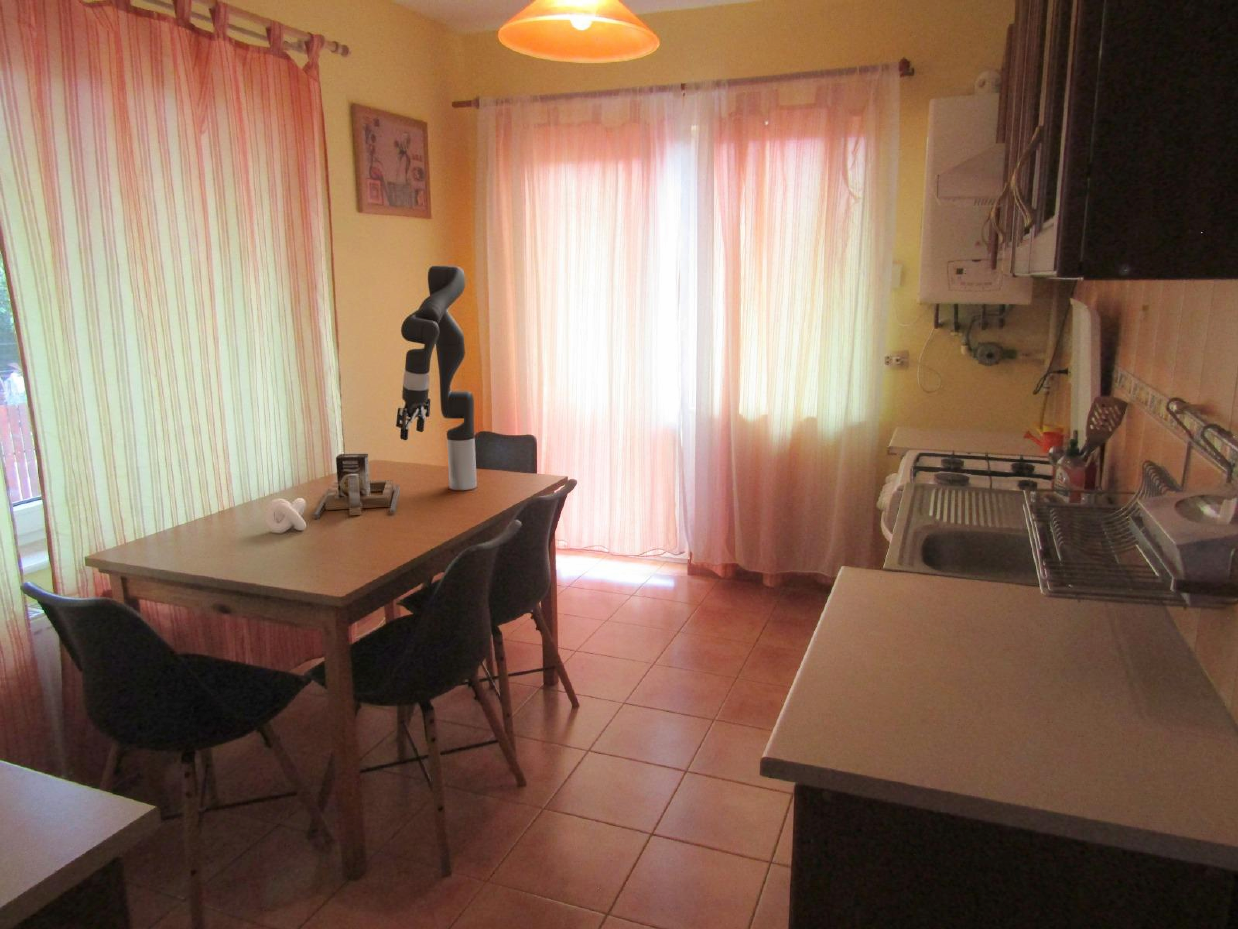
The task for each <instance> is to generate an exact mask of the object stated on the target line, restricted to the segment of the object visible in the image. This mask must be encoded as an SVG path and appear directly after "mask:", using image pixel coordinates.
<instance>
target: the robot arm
mask: <svg viewBox="0 0 1238 929" xmlns="http://www.w3.org/2000/svg"><path fill="white" fill-rule="evenodd" d="M465 275H466V274H465V272H464V269H462V267H459V266H454V265H432V266H430V267H429V269H428V271H427V285H428V291H429V295H428V296H427V297H426V298H425V299H423V301H422V303H421V304H420V305H419V308H418V309H417V310H415V311H414V312H412V313H411V314H409V315H408V316H407V317H406V318H405V319H404V320H403V321H402V324H401V327H400V333H401V336H402V338H403V339H404V340H405V341H406V342H411V343H415V344H421V345H424V346H423V348H412V349H409V350H407V352H406V355H405V364H404V365H405V366H404V374H403V380H402V392H401V394H402V395H401V399H402V401H404V407H398V408H397V413H396V414H397V415H396V422H395V423H396V424H395V427H397V428H400V435H399V436H400V439H401V440H403V441H407V440H408V439H409V428H410V425H411V424H412V423H413V422H414V420H415V419H416V418H417V419H416V428H415V429H416V431H417V432H420V433H423V432H424V431H425V421H426V420H427V418H429V417H430V413H431V398H429V390H430V377H431V376H430V371H431V358H432V355H433V351H434V349H435V350H436V352H435V353H436V359H437V366H438V374H439V396H440V397H439V400H440V411H441V415H442V418H444V419H447V420H449V419H451V420H453V419H455V420H458V419H459V420H460V419H463V422H462V423H460V424H459V425H457V426H454V427H452V428H450V429H448V430H447V431H446V443H447V444H446V447H447V460H448V462H447V463H448V482H449V484H448V485H449V489H450V490H454V491H468V490H473V489H476V488H477V483H478V482H477V463H476V461H477V460H476V459H477V458H476V442H475V440H476V438H475V419H474V418H475V401H474V399H475V398H474V395H473V393H472V392H471V391H470V390H467V391H466V390H458V391H457V390H456V391H455V390H453V391H452V390H451V385H452V381H453V378H454V376H455V374H456V372H457V370H458V369H459V368H460V366H461V364H462V363H463V360H464V358H465V355H466V347H465V345H466V344H465V337H464V332H463V330H462V328H461V327H460V326H459V324H458V323H457V321H456V320H455V319H454V317H453V316H452V315H451V313H450V312H449V310H448V309H449V308H450V307H451V305H453V304H454V303H455V302H456V301H457V299H458V298H460V297H461V295H462V294H463V292H464V291H465V288H466V276H465ZM425 410H426V411H425Z"/></svg>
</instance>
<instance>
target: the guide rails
mask: <svg viewBox="0 0 1238 929" xmlns="http://www.w3.org/2000/svg"><path fill="white" fill-rule="evenodd" d="M331 489H332V488H328V489H327V490H326V492H325V493H324V495H323V497H322V499H321V501H320V502H319V505H318V506H317V508H316V510H315V512H313V513H314V514H313V520H319V519H320V517H321V515H322V513H323V511H324V509H325V508H326V506H325V500H326V498H327V496H328V494H329V493H330V491H331ZM399 490H401V486H400V484H398V485H395V488H394V490H393V494H392V500H391V502H390V503H391V504H390V507H389V515H390V516H393V514H394V515H395V514H396V513H395V512H396V510H397V503H398V500H399V496H398V495H400V491H399ZM324 507H325V508H324ZM320 514H321V515H320ZM318 518H319V519H318Z"/></svg>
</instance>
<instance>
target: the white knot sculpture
mask: <svg viewBox="0 0 1238 929" xmlns="http://www.w3.org/2000/svg"><path fill="white" fill-rule="evenodd" d="M306 505H307V503H306V501H305V499H304V498H302V497H298V498H296V499H294V500H293V501H292V502H291V503H290V501H288V500H286V499H283V498H276V499H273V500H271V501H270V502H269V503H268V504H266V507H265V509H264V511H263V522H264V525H265V526H266V528H267V529H268V530H269V531H270V532H271V533H274V534H283V533H285V532H287V531H288V530H289V529H291V527H292V526H293V527H294V528H295V530H296V531H299V532H300V531H304V530H305V529H306V528H307V524H306V523H307V522H305V520H304V519H303V517H302V515H303V513H304V511H305V509H306Z"/></svg>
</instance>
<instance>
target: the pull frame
mask: <svg viewBox="0 0 1238 929" xmlns="http://www.w3.org/2000/svg"><path fill="white" fill-rule="evenodd" d="M347 479H348V492H349V497H342V498H339V495H338V481H337V482H334V484H333V486H332V487H331V488H330V489H331V491H330V493H329V494H328V496H327V498H326V500H325V510H326V511H330V510H331V511H333V510H334V511H335V510H349V516H360V515H361V513H362V510H363V509H369V508H370V509H371V508H384V507H385V508H386V507H387V508H388V507H389V506H390V503H391V498H392V497H393V493H394V479H381V480H380V479H379V480H377V479H376V480H369V481H370V493H371V492H382V495H370V496H360V492H359V479H358V474H349V475H347ZM389 508H390V507H389Z"/></svg>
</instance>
